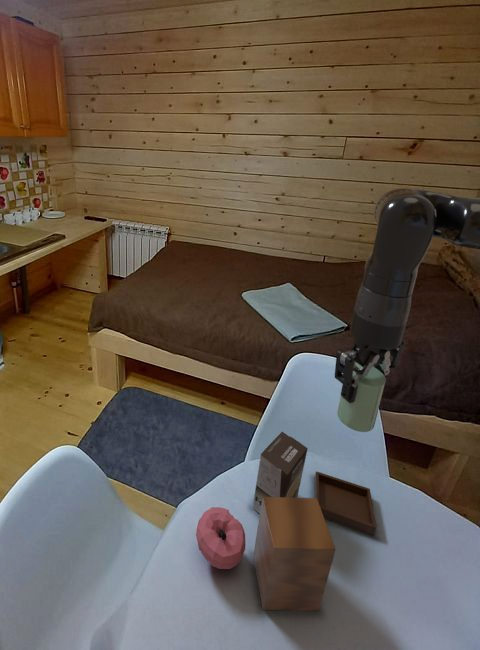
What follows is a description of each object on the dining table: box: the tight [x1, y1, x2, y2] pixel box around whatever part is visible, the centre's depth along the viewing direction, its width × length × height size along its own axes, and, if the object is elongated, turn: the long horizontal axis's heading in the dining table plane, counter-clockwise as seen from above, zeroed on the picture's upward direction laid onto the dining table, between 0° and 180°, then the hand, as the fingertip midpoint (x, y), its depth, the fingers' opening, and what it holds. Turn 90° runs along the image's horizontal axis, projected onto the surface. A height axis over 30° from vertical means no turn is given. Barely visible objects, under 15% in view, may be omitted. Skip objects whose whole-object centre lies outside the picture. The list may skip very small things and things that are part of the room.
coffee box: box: [252, 431, 308, 515], centre depth 75 cm, size 9×6×16 cm
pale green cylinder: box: [336, 362, 387, 433], centre depth 62 cm, size 6×6×10 cm
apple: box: [195, 506, 246, 570], centre depth 66 cm, size 10×9×10 cm
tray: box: [313, 470, 377, 537], centre depth 77 cm, size 12×9×3 cm
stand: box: [252, 497, 337, 612], centre depth 61 cm, size 10×8×17 cm
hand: (361, 393), depth 61 cm, fingers closed on pale green cylinder, 6 cm apart
